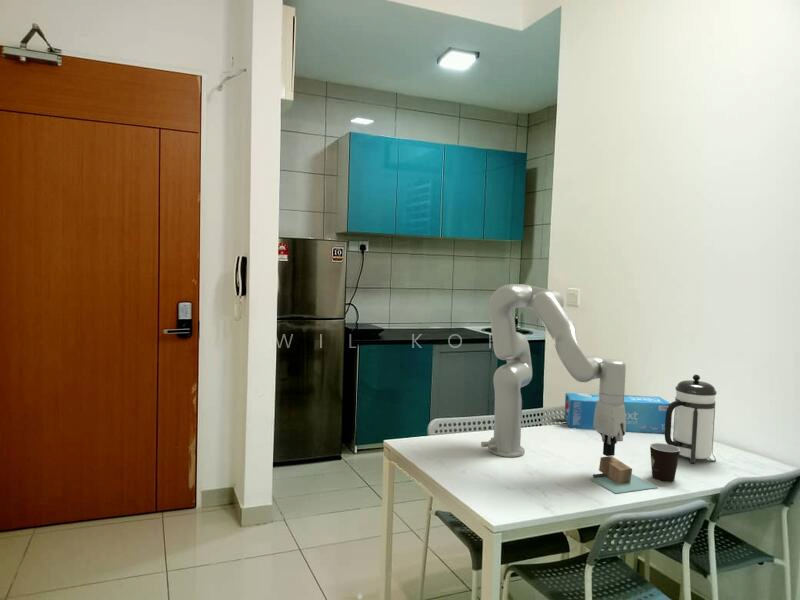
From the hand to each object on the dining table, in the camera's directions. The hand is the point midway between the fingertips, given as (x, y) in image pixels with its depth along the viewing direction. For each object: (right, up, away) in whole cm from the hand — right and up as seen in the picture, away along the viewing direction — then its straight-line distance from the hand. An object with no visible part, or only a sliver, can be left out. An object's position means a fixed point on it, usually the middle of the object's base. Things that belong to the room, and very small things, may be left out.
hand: (608, 455), depth 175 cm
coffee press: (+36, -7, +18) cm, 41 cm away
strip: (0, -7, 0) cm, 7 cm away
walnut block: (-1, -3, +1) cm, 3 cm away
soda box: (+24, -5, +57) cm, 62 cm away
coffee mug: (+18, -7, 0) cm, 19 cm away
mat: (+2, -7, -6) cm, 10 cm away
